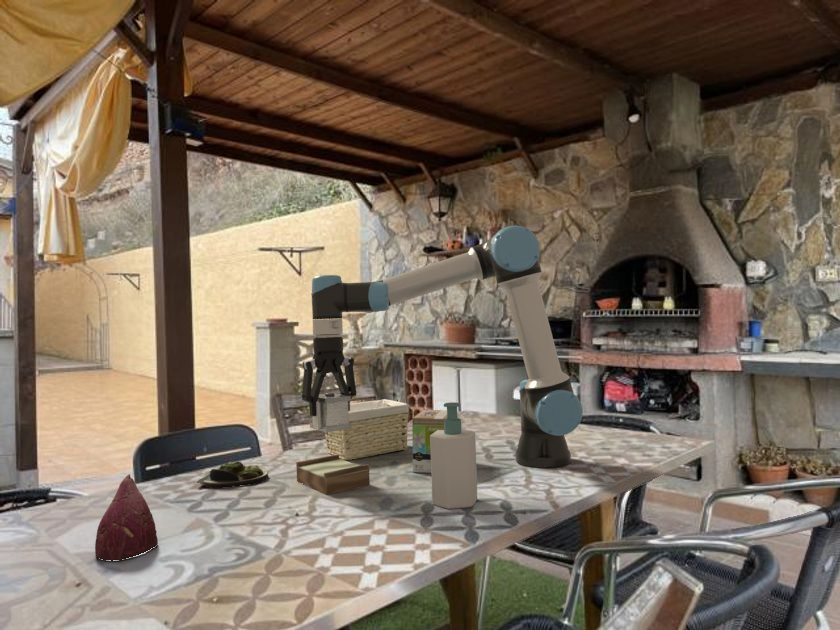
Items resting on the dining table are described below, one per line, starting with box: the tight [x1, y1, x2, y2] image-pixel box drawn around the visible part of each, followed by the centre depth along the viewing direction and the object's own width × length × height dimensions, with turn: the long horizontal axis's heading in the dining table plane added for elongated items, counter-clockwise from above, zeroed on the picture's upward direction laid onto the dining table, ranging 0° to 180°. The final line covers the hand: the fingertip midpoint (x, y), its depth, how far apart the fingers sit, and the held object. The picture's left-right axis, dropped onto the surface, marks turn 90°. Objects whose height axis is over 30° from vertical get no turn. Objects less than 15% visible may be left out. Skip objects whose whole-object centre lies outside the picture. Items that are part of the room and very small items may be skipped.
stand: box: [295, 454, 371, 496], centre depth 152 cm, size 16×12×5 cm
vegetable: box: [94, 473, 159, 561], centre depth 112 cm, size 10×10×15 cm
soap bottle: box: [430, 402, 478, 510], centre depth 133 cm, size 10×9×22 cm
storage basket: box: [324, 398, 410, 461], centre depth 187 cm, size 24×16×15 cm
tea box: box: [411, 409, 447, 474], centre depth 166 cm, size 15×10×15 cm
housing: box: [309, 392, 352, 433], centre depth 152 cm, size 7×9×9 cm
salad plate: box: [196, 460, 269, 489], centre depth 161 cm, size 19×18×5 cm
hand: (330, 426), depth 152 cm, fingers closed on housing, 7 cm apart
